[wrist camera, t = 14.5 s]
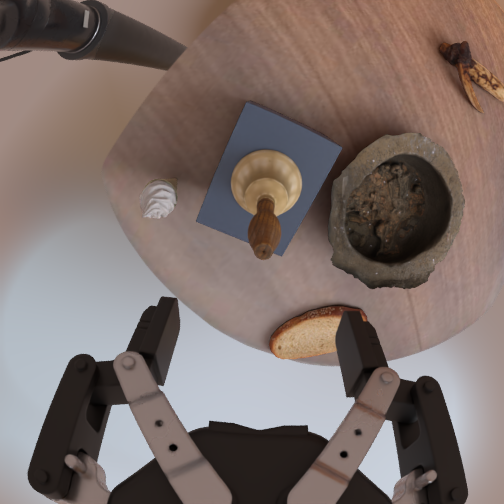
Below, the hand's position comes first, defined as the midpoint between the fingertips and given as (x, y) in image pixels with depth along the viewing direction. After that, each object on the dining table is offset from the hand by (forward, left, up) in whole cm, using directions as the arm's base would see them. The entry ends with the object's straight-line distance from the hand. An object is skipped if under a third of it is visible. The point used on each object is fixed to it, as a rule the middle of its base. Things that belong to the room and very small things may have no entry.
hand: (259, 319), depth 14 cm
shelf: (+1, 0, -34) cm, 34 cm away
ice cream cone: (-11, -8, -34) cm, 37 cm away
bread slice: (+26, -27, -34) cm, 51 cm away
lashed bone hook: (+26, +32, -34) cm, 53 cm away
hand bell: (+1, 0, -23) cm, 23 cm away
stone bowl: (+22, +4, -34) cm, 41 cm away
